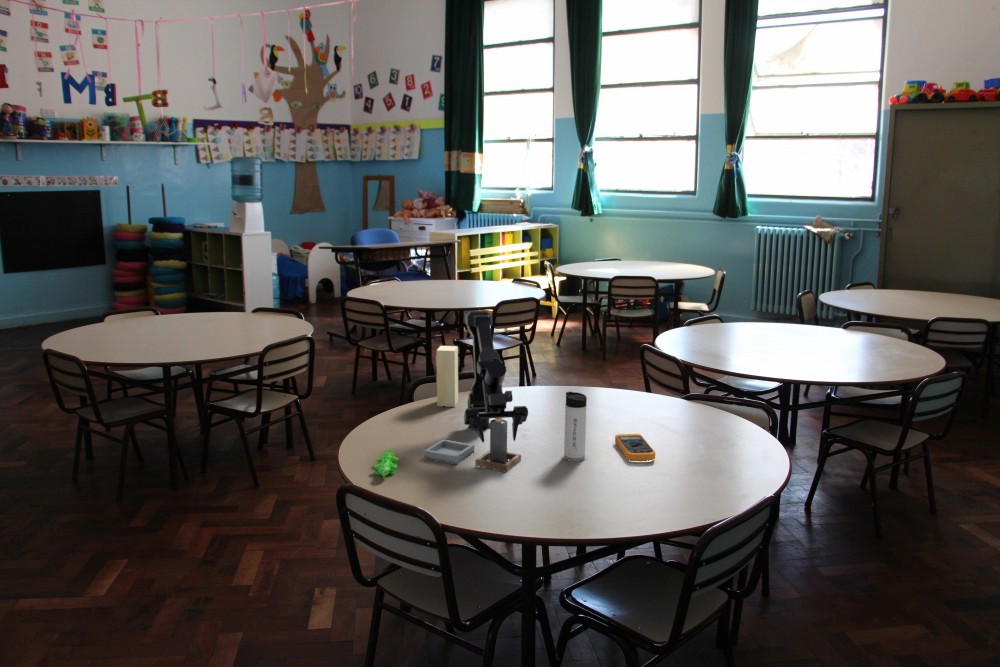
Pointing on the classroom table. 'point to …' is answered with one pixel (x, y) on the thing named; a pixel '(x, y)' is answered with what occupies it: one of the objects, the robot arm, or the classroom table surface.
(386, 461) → the crocodile figurine
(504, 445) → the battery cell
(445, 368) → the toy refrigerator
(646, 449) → the multimeter
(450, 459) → the tray
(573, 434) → the travel mug
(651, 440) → the classroom table surface
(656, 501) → the classroom table surface
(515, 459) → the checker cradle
